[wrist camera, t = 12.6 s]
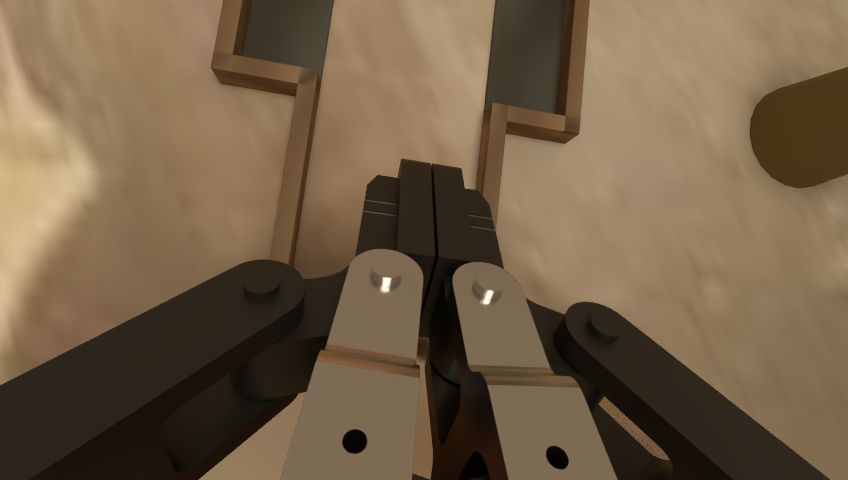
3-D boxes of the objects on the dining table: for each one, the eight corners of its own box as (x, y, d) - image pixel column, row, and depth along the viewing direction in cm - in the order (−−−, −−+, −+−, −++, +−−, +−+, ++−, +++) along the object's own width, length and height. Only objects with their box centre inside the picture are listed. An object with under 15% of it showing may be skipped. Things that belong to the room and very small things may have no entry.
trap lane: (593, -207, 26) (624, -269, 23) (547, 356, 22) (577, 367, 19) (290, -297, 24) (280, -380, 21) (177, 318, 20) (147, 324, 17)
